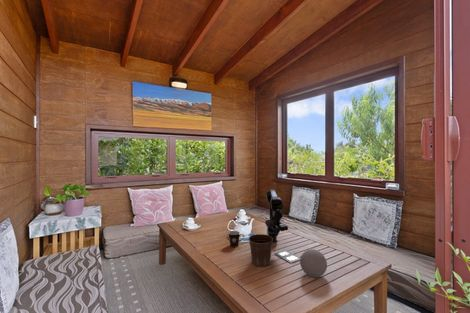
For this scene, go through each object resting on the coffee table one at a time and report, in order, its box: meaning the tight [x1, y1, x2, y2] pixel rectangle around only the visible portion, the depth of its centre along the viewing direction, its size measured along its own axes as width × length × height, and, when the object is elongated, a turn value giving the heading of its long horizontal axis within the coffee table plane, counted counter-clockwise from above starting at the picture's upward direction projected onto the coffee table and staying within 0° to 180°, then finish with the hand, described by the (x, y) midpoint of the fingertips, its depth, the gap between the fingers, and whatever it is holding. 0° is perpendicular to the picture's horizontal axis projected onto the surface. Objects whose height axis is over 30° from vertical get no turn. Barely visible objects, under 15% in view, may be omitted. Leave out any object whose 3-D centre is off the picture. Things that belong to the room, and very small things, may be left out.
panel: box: [274, 249, 301, 264], centre depth 159 cm, size 10×16×1 cm, turn 30°
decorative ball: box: [299, 248, 328, 278], centre depth 135 cm, size 15×15×15 cm
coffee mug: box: [228, 230, 245, 248], centre depth 180 cm, size 12×9×10 cm
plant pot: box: [248, 233, 273, 268], centre depth 152 cm, size 16×16×16 cm
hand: (276, 236), depth 167 cm, fingers closed
